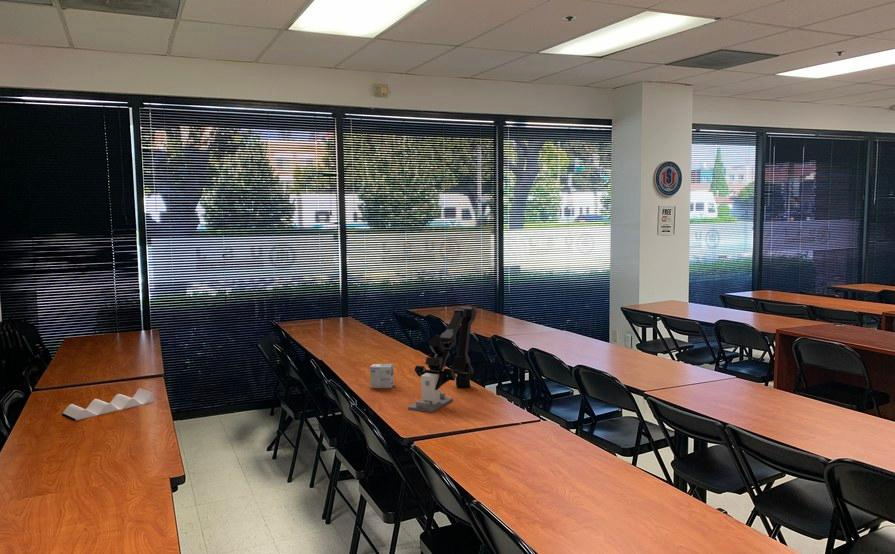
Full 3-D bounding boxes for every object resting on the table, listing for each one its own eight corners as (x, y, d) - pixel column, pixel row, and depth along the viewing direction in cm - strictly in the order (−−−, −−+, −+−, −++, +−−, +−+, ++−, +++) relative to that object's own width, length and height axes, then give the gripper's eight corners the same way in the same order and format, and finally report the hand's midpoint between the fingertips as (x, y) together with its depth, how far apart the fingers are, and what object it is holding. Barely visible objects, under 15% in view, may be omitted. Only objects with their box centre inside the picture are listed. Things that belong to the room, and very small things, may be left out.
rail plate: (429, 397, 311) (429, 390, 310) (452, 400, 305) (452, 393, 305) (407, 409, 293) (407, 401, 293) (432, 412, 288) (432, 404, 287)
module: (427, 399, 303) (426, 372, 301) (439, 401, 300) (439, 374, 298) (421, 403, 298) (420, 376, 296) (434, 405, 295) (433, 377, 293)
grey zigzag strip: (60, 416, 291) (59, 405, 291) (139, 398, 318) (139, 387, 317) (73, 422, 283) (72, 410, 282) (153, 403, 310) (152, 392, 309)
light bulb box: (394, 384, 334) (393, 363, 333) (391, 388, 327) (391, 366, 326) (373, 384, 335) (372, 363, 334) (370, 388, 328) (369, 366, 327)
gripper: (415, 348, 304) (404, 377, 296) (452, 351, 296) (441, 381, 287) (424, 361, 312) (413, 390, 303) (460, 365, 304) (449, 395, 295)
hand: (428, 389), depth 297 cm, fingers closed on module, 6 cm apart
